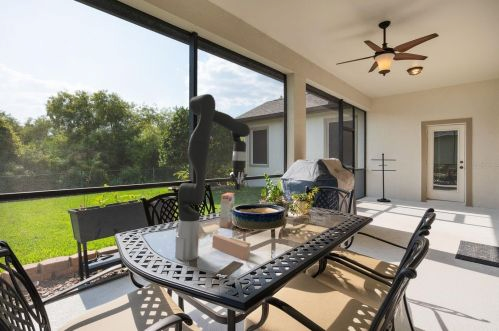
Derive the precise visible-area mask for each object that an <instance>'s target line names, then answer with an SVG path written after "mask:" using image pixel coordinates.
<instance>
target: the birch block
mask: <svg viewBox="0 0 499 331" xmlns="http://www.w3.org/2000/svg"><path fill="white" fill-rule="evenodd" d="M228 238H229V239H232V240H235V241H237V242H240V243H243V244H246V245H249V254H250V253H251V243H250V242H248V241H245V240H243V239H239V238H236V237H228Z"/></svg>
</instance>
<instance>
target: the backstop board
mask: <svg viewBox="0 0 499 331" xmlns="http://www.w3.org/2000/svg"><path fill="white" fill-rule="evenodd" d="M229 238H230V237H225V236H224V235H220V234H213V235H212V243H211V244H212V245H211V246H212V249H213V248H214V249H216V250H218V251H220V252H224V253H225V254H228V255H231V256H233V257H235V258H238V259H240V260H241V261H242V260H243V261H246V260H249V256H250V255H249V254H250V253H249V245H246V244H243V243H240V242H237V241H235V240H232V239H229Z"/></svg>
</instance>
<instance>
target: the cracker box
mask: <svg viewBox="0 0 499 331" xmlns="http://www.w3.org/2000/svg"><path fill="white" fill-rule="evenodd" d="M235 196H236V193H235V192H226V193H223V194H221V198H220V208H219V209H220V213H219V225H218V226H219V228H226V229H228V228H229V227H230V226H231V225H232V224H233V223H232V215H231V210H232V208H233V207H234V208H235Z"/></svg>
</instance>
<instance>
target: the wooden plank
mask: <svg viewBox="0 0 499 331" xmlns="http://www.w3.org/2000/svg"><path fill="white" fill-rule="evenodd" d="M243 265H244V263H243V262H240V261H236V260H232V261H231V262H230V263H228V264H227V265H225V266H224V267H222V269H219V270H218V271H217V272H215V273H214V274H213V276H214V275H217V274H221V275H229V274H230V275H232V274H233V273H234V272H235V271H237V270H238V269H239V268H241V266H243ZM233 271H234V272H233ZM232 272H233V273H232ZM230 275H229V276H230Z"/></svg>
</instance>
